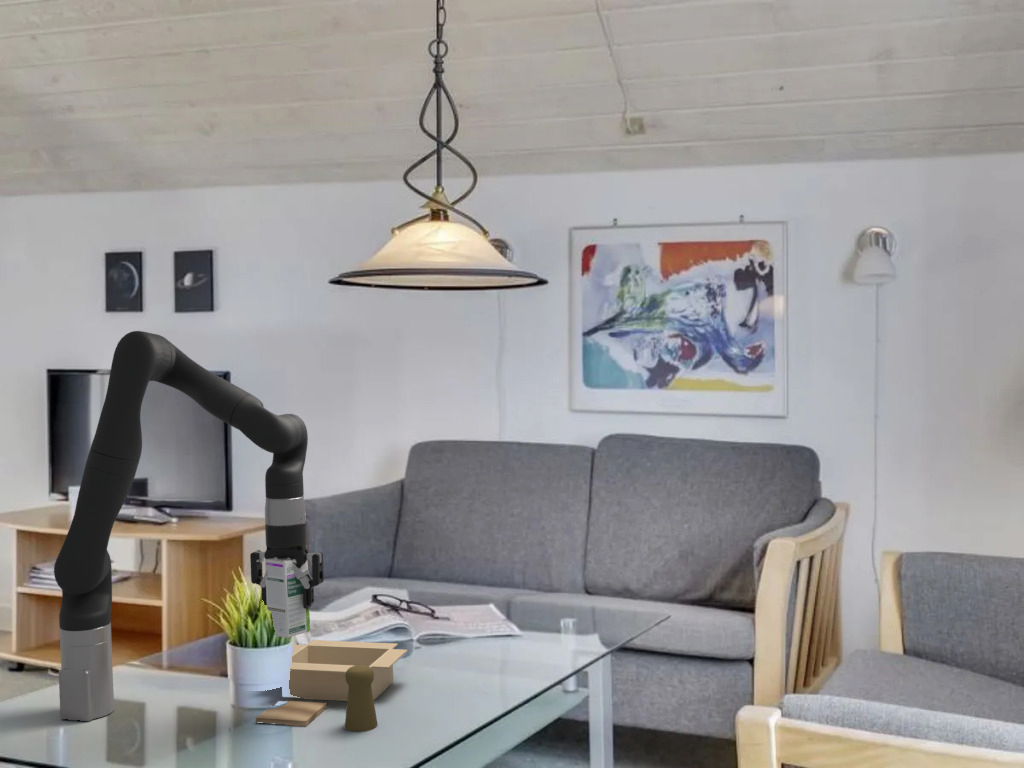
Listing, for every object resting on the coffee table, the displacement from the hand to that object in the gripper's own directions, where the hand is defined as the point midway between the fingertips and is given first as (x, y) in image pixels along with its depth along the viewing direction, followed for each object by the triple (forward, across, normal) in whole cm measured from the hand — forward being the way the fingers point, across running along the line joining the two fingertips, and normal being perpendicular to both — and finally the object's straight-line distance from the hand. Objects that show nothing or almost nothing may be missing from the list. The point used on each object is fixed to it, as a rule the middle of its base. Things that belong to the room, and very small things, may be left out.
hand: (288, 606), depth 207 cm
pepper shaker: (+21, +15, -3) cm, 26 cm away
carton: (+21, +3, +16) cm, 27 cm away
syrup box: (+5, 0, 0) cm, 5 cm away
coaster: (+21, 0, 0) cm, 21 cm away
